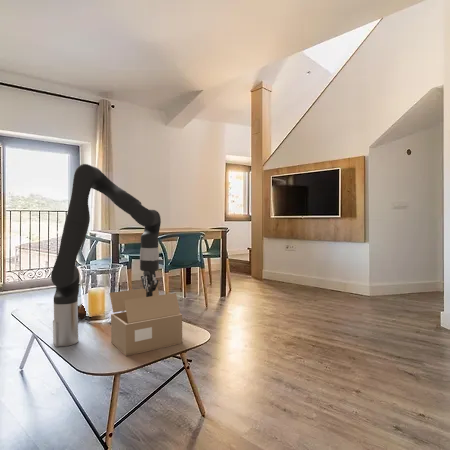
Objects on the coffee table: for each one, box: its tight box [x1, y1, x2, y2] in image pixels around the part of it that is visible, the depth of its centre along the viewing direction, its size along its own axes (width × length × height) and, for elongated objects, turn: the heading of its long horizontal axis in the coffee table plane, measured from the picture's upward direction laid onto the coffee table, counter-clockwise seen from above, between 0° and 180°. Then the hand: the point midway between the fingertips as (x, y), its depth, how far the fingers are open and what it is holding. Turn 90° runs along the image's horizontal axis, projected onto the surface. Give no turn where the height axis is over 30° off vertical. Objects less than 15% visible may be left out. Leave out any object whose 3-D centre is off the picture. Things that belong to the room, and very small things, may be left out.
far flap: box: [109, 286, 160, 313], centre depth 158 cm, size 22×9×1 cm
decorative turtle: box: [78, 303, 87, 320], centre depth 186 cm, size 10×15×8 cm, turn 135°
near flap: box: [124, 292, 181, 323], centre depth 142 cm, size 22×9×1 cm
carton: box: [110, 311, 183, 357], centre depth 148 cm, size 24×18×12 cm
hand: (149, 300), depth 146 cm, fingers closed
